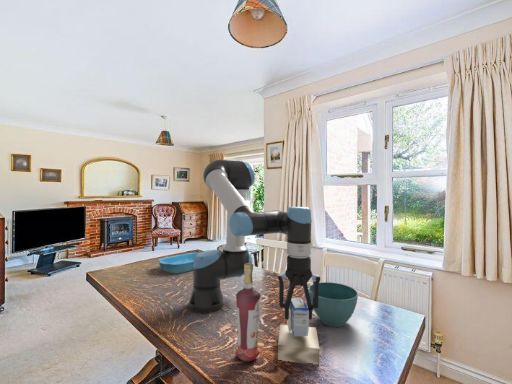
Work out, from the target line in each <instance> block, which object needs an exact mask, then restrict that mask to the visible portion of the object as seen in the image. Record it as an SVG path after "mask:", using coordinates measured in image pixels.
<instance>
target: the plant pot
mask: <svg viewBox="0 0 512 384" xmlns="http://www.w3.org/2000/svg"><path fill="white" fill-rule="evenodd" d="M308 291H309V295H310V300H311V303H313V284H311V285H309V286H308ZM358 295H359V293H358V291H357V290H356V289H355V288H353V287H351V286H348V285H347V284H343V283H338V282H331V281H330V282H329V281H326V282H319V284H318V308H314V309H313V311H314V313H315V314H316V316H317V317H318V319H319V320H320V321H321V322H322V323H323V324H324V325H326V326H328V327H334V328H338V327H339V328H340V327H342V326H344V325H345V324H346V323H347V322H348V321H349V320H350V319H351V317H352V316H353V315H354V311H356V306H357V302H358V299H359V298H358V297H359V296H358Z"/></svg>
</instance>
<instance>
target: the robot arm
mask: <svg viewBox="0 0 512 384" xmlns="http://www.w3.org/2000/svg"><path fill="white" fill-rule="evenodd" d="M202 176H203V177H202V178H203V181H204V184H205V185H206V187H207V188H208V189H209V190H212V191H213V193H214V194H215V196H216V197H217V198H218V200H219V202H220V203H221V205H222V206H223V208H224V209H225V210H226V239H225V241H226V244H225V245H224V246H223V247H222V252H221V251H220V250H218V249H208V250H204V251H201V252H197V253H198V254H197V255H196V256H195V257H194V264H193V270H192V271H193V274H192V275H193V279H192V281H193V282H192V285H193V286H192V291H191V294H190V297H189V300H188V308H189V310H190V311H192V312H195V313H201V314H204V313H205V314H206V313H207V314H208V313H214V312H217V311H219V310H220V309H222V308H223V307H224V306H225V305H224V304H225V303H224V302H225V300H224V295H223V292H222V289H221V280H226V279H232V278H239V277H243V276H245V272H244V264H245V263H252V264H253V257H252V253H251V252H250V250H249V249H248V247H247V245H246V243H245V242H246V241H245V239H246V238H245V237H248V236H257V235H258V236H259V235H270V234H283V235H286V236H287V237H286V238H287V239H286V254H287V256H286V270H285V272H284V273H278V274H277V279H278V288H279V290H278V305H279V308H281V309H282V308H283V309H284V319H285V320H287V325H288V330H289V331H291V307H290V303H291V299H292V298H293V294H294V291H295V288H296V287H297V286H301V287H302V288H303V292H304V297H305V303H306V306H307V308H308V332H309V327H310V326H309V325H310V320H313V311H314V308H318V284H319V283H321V282H320V281H321V277H320V275H319V274H318V273H317V274H314V273H313V272H312V270H311V267H312V264H311V263H312V257H311V255H312V223H313V221H312V210H311V208H309V207H307V206H289V207H288V208H287V211H281V210H269V211H255V210H253V208H252V207H251V206H250V205H249V203H247V193H248V192H249V191H250V187H252V186H254V182H255V180H256V178H255V177H256V175H255V169H254V168H253V166H252V164H251V163H250V162H247V161H242V160H229V159H228V160H227V159H215V160H212V161H211V162H209V163H208V164H207V165H206V166H205V168H204V170H203V175H202ZM286 278H287V279H288V282H289V285H288V290H287V293H286V298H285V299H284V292H285V291H284V288H285V287H284V283H285V280H286ZM311 279H312V285H313V303H311V300H310V295H309V286H308V282H309V281H310V280H311ZM284 300H285V301H284Z"/></svg>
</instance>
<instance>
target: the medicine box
mask: <svg viewBox="0 0 512 384" xmlns="http://www.w3.org/2000/svg"><path fill="white" fill-rule="evenodd" d="M290 307H291V330H292V332H293V335H294V336H308V308H307V307H308V306H307V304H306V302H305V301H304V300H303V298H302V297H292V299H291V303H290Z"/></svg>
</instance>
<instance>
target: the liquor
mask: <svg viewBox="0 0 512 384" xmlns="http://www.w3.org/2000/svg"><path fill="white" fill-rule="evenodd" d="M253 266H254V264H253V262H252V263H245V264H244V272H245V275H244V281H243V288H242V289H240V290H239V291H237V292H236V294H235V299H236V300H235V302H236V303H235V304H236V306H235V307H236V308H235V309H236V326H237V327H236V329H237V331H236V332H237V333H236V334H237V350H236V352H235V355H236V356H237V358H238V359H240V360H241V361H242V362H244V361H247V362H246V363H249V362H248V361H251V362H253V361H254V360H255V359H257V358H258V357H259V355H260V352H259V349H258V347H259V346H258V345H259V344H258V342H259V340H258V339H259V338H258V337H259V324H260V323H259V320H260V310H261V309H260V308H261V306H260V305H261V294H260V292H259V291H258V290H256V289H254V281H253V272H254V271H253V270H254V267H253ZM252 360H253V361H252Z"/></svg>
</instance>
